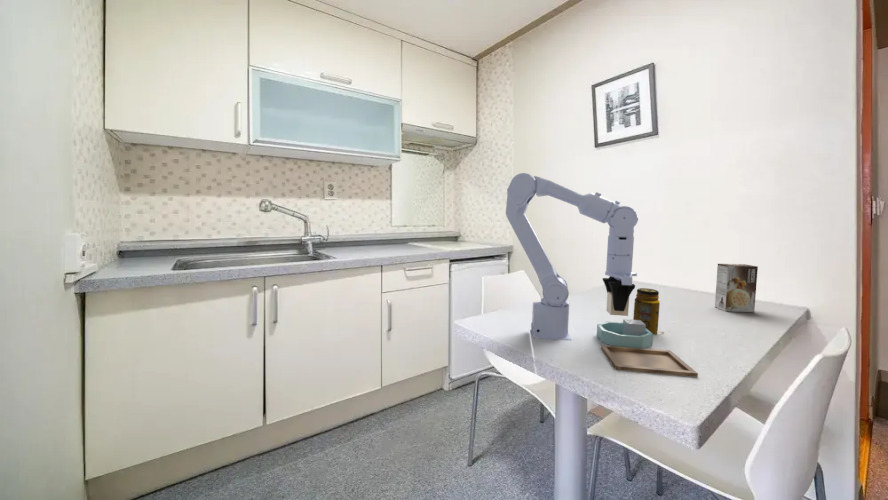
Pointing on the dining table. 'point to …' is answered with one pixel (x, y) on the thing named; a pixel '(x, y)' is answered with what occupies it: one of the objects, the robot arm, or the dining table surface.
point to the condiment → (647, 309)
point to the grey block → (633, 327)
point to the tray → (647, 361)
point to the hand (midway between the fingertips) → (616, 308)
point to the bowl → (622, 336)
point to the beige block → (611, 308)
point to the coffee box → (736, 287)
